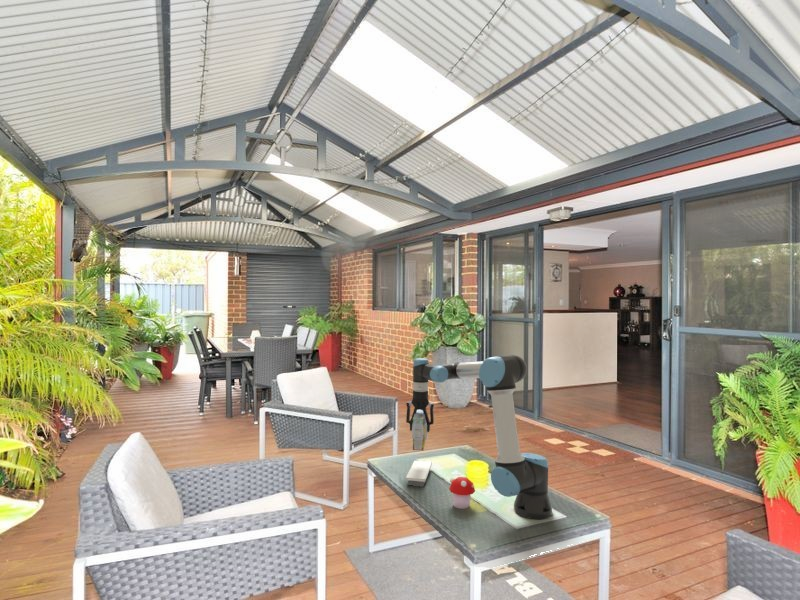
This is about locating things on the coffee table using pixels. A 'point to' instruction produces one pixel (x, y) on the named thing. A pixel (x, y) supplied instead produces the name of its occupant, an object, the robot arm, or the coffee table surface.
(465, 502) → the mushroom
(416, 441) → the snack box
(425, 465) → the stand
